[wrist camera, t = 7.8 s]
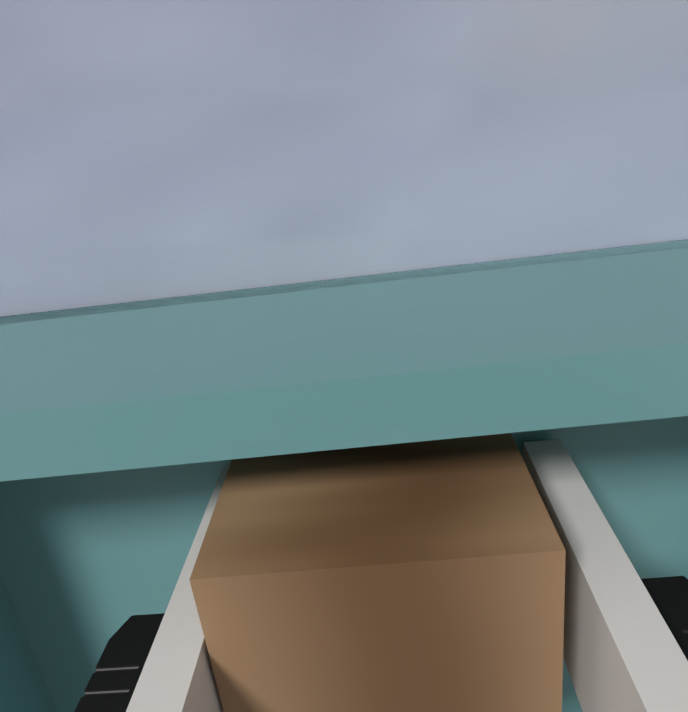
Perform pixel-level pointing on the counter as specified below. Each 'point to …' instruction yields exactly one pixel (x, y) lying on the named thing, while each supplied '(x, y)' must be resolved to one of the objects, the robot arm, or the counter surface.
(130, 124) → the counter surface
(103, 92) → the counter surface
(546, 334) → the tote
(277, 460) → the walnut cube
